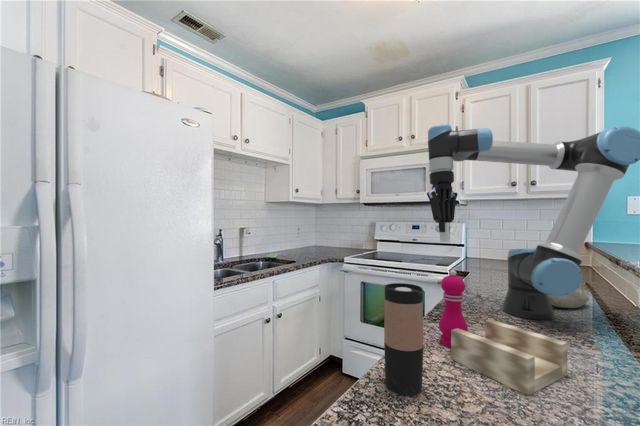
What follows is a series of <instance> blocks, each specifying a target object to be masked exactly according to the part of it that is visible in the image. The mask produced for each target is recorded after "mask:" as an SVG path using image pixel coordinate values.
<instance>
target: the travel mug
mask: <svg viewBox="0 0 640 426" xmlns="http://www.w3.org/2000/svg"><path fill="white" fill-rule="evenodd" d="M423 291H424V289H423V287H421V286H419V285H417V284H413V283H412V284H411V283H404V282H402V283H400V282H394V283H387V284H386V285H384V319H383V320H384V326H383V328H384V331H383V332H384V333H383V339H384V341H383V343H384V346H383V347H384V370H385V371H384V373H385V376H384V377H385V385H386V387H387V389H389V391H391V392H392V393H394V394H397V395H400V396H407V397H410V396H411V397H412V396H417V395H419V394H420V393H421V392H422V389H423V368H424V367H423V365H424V362H423V361H424V304H423V303H424V302H423V301H424V299H423V298H424V297H423V296H424V295H423Z"/></svg>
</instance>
